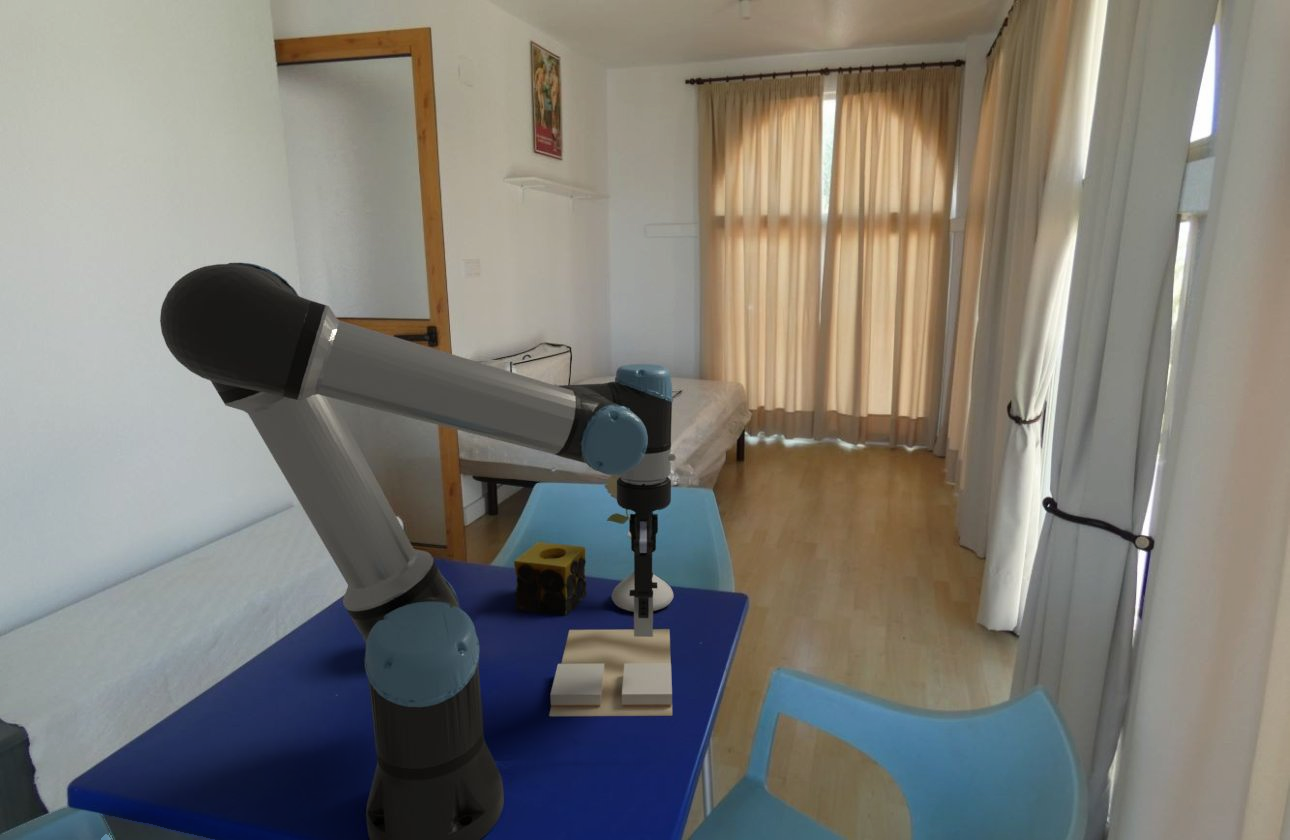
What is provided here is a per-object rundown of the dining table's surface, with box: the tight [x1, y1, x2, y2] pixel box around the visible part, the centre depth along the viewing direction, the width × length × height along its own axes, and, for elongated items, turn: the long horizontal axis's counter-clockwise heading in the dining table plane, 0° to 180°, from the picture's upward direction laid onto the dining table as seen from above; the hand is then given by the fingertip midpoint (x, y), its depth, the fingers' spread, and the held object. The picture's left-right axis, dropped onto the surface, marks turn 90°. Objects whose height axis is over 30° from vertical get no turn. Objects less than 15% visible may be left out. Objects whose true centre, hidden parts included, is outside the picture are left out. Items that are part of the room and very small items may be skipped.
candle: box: [513, 541, 587, 617], centre depth 134 cm, size 10×10×10 cm
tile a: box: [549, 663, 605, 707], centre depth 106 cm, size 2×7×8 cm
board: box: [548, 628, 673, 717], centre depth 113 cm, size 24×17×1 cm
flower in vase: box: [604, 475, 674, 613], centre depth 132 cm, size 13×11×25 cm
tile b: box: [622, 663, 673, 707], centre depth 106 cm, size 2×7×8 cm
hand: (643, 633), depth 106 cm, fingers closed
